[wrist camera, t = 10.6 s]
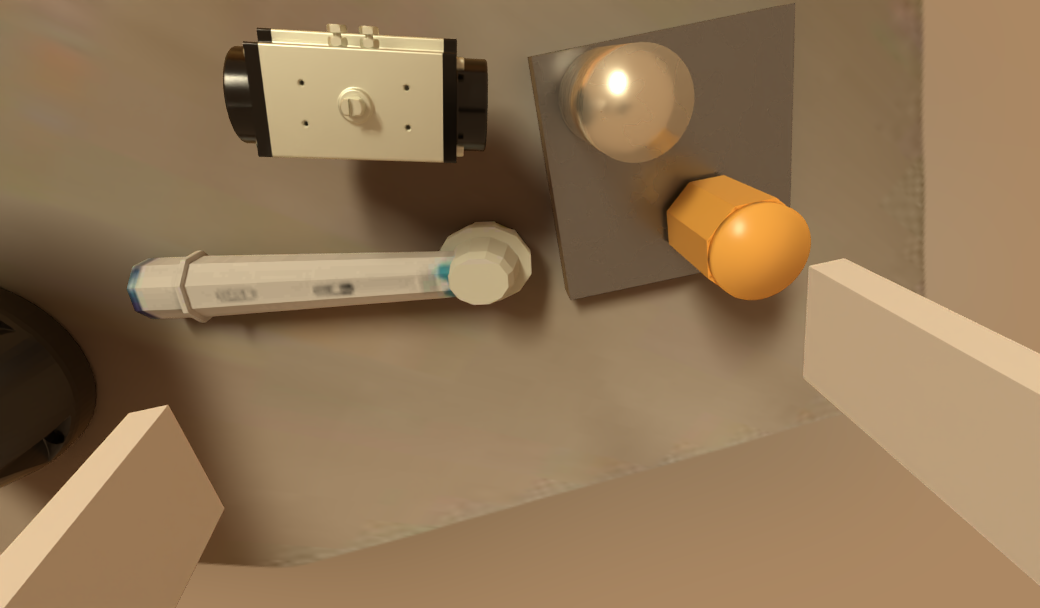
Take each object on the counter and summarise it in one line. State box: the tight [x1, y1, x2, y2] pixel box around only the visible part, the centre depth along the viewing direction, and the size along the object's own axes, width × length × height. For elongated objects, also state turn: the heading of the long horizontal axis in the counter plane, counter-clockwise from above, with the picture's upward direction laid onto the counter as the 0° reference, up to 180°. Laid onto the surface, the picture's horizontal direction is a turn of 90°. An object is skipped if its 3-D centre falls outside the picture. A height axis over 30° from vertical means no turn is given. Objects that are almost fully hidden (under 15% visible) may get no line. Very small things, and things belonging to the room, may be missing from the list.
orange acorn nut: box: [667, 175, 811, 300], centre depth 34 cm, size 6×6×7 cm
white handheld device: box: [127, 221, 532, 323], centre depth 36 cm, size 5×7×25 cm
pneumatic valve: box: [223, 24, 488, 163], centre depth 28 cm, size 6×12×12 cm, turn 87°
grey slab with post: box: [528, 3, 795, 300], centre depth 33 cm, size 16×16×9 cm
